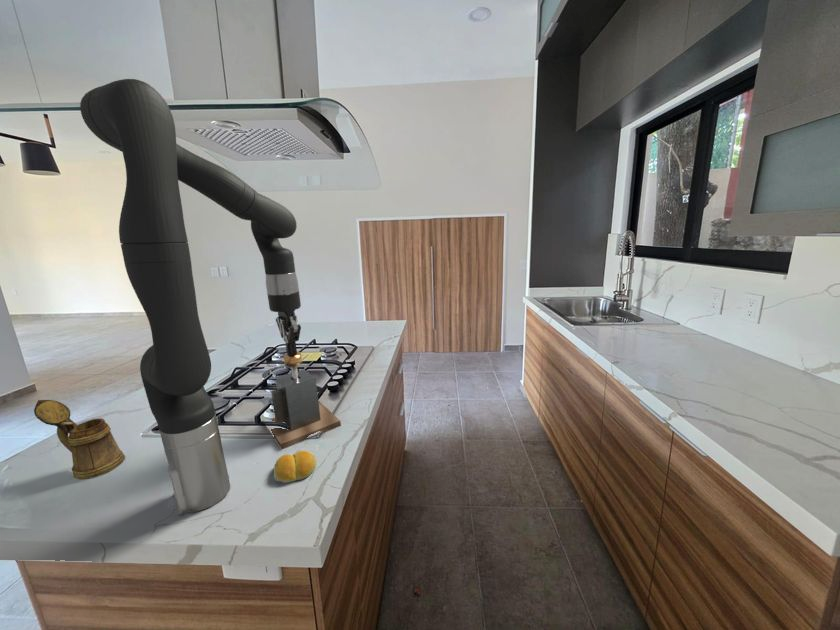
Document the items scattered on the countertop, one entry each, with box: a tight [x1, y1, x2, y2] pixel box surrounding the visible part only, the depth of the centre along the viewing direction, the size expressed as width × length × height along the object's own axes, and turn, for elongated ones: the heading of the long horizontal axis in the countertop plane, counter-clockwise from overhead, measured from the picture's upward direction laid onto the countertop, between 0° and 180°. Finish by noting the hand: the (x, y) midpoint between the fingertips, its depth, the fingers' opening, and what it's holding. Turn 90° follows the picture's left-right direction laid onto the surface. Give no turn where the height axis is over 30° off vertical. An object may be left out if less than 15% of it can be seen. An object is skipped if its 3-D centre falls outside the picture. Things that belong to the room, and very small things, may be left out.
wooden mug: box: [33, 399, 126, 480], centre depth 79 cm, size 9×14×18 cm, turn 93°
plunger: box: [283, 351, 303, 380], centre depth 92 cm, size 6×6×14 cm
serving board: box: [271, 400, 342, 450], centre depth 96 cm, size 16×16×2 cm
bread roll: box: [273, 450, 317, 484], centre depth 77 cm, size 8×9×4 cm
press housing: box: [270, 369, 321, 431], centre depth 93 cm, size 10×8×13 cm
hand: (292, 355), depth 91 cm, fingers closed
